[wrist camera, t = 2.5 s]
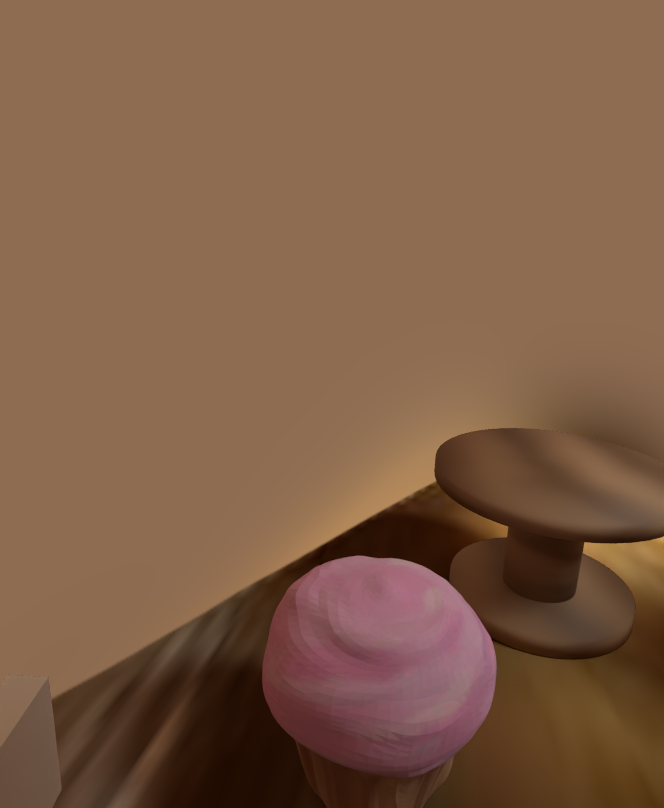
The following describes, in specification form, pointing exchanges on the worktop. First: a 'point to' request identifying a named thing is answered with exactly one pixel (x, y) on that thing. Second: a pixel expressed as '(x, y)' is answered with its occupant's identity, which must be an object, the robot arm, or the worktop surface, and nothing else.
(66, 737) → the worktop surface
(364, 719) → the cupcake
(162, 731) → the worktop surface
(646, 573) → the worktop surface
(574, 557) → the cake stand
